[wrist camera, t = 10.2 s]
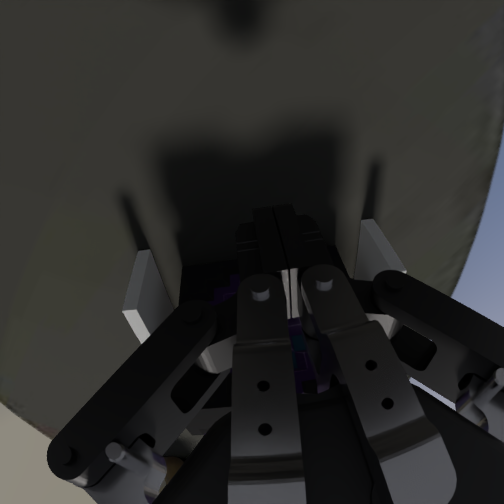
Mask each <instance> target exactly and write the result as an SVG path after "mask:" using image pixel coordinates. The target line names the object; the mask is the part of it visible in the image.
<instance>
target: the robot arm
mask: <svg viewBox="0 0 504 504" xmlns="http://www.w3.org/2000/svg"><path fill="white" fill-rule="evenodd" d="M252 211H253V219H254V222H251V223H245V224H240V226H239V228H238V230H237V232H236V243H237V254H238V265H239V276H240V285H239V287H238V290H237V291H236V293H235V294H234V295H233V296H232V297H230V298H229V299H227V300H226V301H224V302H221V303H219V304H216V305H214V306H212V305H211V304H210V303H208V302H207V301H204V300H190V301H187V302H184V303H182V304H181V305H179V306H178V307H177V308H176V309H175V310H174V311H173V312H172V313H171V314H170V315H169V316H168V317H167V318H166V319H165V320H164V321H163V322H162V323H161V324H160V325H159V327H158V328H157V329H156V330H155V331H154V332H153V333H152V334H151V335H150V336H149V337H148V338H147V339H146V340H145V341H144V342H143V343H142V344H141V345H140V347H139V348H138V349H137V350H136V351H135V352H134V353H133V354H132V355H131V356H130V357H129V358H128V359H127V360H126V361H125V362H124V363H123V365H122V366H121V367H120V368H119V369H118V370H117V371H116V372H115V373H114V374H113V375H112V376H111V377H110V378H109V379H108V380H107V382H106V383H105V384H104V385H103V386H102V387H101V388H100V389H99V390H98V391H97V392H96V393H95V394H94V395H93V397H92V398H91V399H90V400H89V401H88V402H87V403H86V404H85V405H84V406H83V407H82V408H81V410H80V411H79V412H78V413H77V414H76V415H75V416H74V417H73V418H72V419H71V420H70V421H69V423H68V424H67V425H66V426H65V427H64V428H63V429H62V430H61V431H60V432H59V433H58V435H57V436H56V437H55V438H54V439H53V440H52V441H51V443H50V445H49V447H48V451H47V462H48V465H49V468H50V469H51V471H52V472H53V473H54V474H55V475H56V476H57V477H59V478H61V479H63V480H66V481H68V482H70V483H73V484H74V485H76V486H78V487H81V488H83V489H84V490H85V491H86V492H87V493H88V494H89V495H90V496H91V497H92V498H93V499H94V500H95V501H96V503H97V504H504V327H502V326H500V325H499V324H497V323H495V322H493V321H492V320H490V319H488V318H487V317H485V316H483V315H481V314H479V313H478V312H476V311H474V310H472V309H471V308H469V307H467V306H465V305H463V304H461V303H459V302H458V301H456V300H454V299H452V298H451V297H449V296H447V295H445V294H443V293H441V292H439V291H438V290H436V289H434V288H432V287H430V286H428V285H426V284H424V283H422V282H421V281H419V280H417V279H415V278H413V277H411V276H409V275H407V274H405V273H403V272H401V271H398V270H384V271H381V272H379V273H378V274H377V275H376V276H375V277H374V279H373V281H365V280H355V279H351V278H348V277H346V276H345V274H344V273H343V272H342V271H341V270H340V269H339V268H337V267H335V266H334V263H333V261H332V259H331V256H330V254H329V251H328V249H327V247H326V244H325V242H324V240H323V237H322V235H321V233H320V231H319V228H318V226H317V224H316V221H314V220H313V219H312V218H311V217H309V216H308V215H300V216H296V214H295V211H294V209H293V206H292V204H284V205H277V206H272V208H271V207H264V208H257V209H252ZM290 310H291V315H292V318H295V317H300V321H301V325H302V331H301V332H302V338H303V341H304V344H305V347H306V350H307V353H308V356H309V359H310V362H311V365H312V369H313V372H314V375H315V378H316V382H317V388H318V394H303V393H296V386H295V377H294V367H293V358H292V349H291V341H290V338H289V330H288V319H290ZM404 324H405V325H406V326H405V325H404ZM407 326H408V327H407ZM409 327H410V328H412V329H413V330H412V329H410V328H409ZM414 330H415V331H414ZM416 331H417V332H418V333H417V332H416ZM419 333H420V334H419ZM421 334H422V335H424V336H425V337H424V336H422V335H421ZM426 337H427V338H426ZM428 338H429V339H430V340H429V339H428ZM431 340H432V341H431ZM231 368H232V406H231V411H230V412H229V413H227V414H226V415H224V416H222V417H221V418H220V419H219V420H218V421H216V422H215V423H214V424H213V425H212V426H211V427H210V428H209V430H208V431H207V432H206V434H205V435H204V436H203V438H202V439H201V440H200V442H199V443H198V445H197V446H196V447H195V449H194V450H193V451H192V453H191V454H190V455H189V457H188V458H187V459H186V460H185V462H184V463H183V464H182V466H181V467H180V468H179V470H178V471H177V472H176V474H175V475H174V476H173V477H172V479H171V480H170V481H169V482H168V484H167V485H166V486H165V488H164V489H163V490H162V491H161V493H160V494H159V489H160V486H161V484H162V482H163V480H164V479H165V476H166V473H167V466H166V462H165V460H164V458H163V454H164V453H165V452H166V451H167V450H168V449H169V447H170V446H171V445H172V444H173V443H174V441H175V440H176V439H177V438H178V437H179V435H180V434H181V433H182V432H183V431H184V429H185V428H186V427H187V426H188V424H189V423H190V422H191V421H192V419H193V418H194V417H195V416H196V415H197V413H198V412H199V411H200V410H201V408H202V407H203V406H204V405H205V403H206V402H207V401H208V400H209V398H210V397H211V396H212V394H213V393H214V392H215V391H216V389H217V388H218V387H219V386H220V384H221V383H222V382H223V380H224V379H225V378H226V377H227V375H228V374H229V372H230V371H231ZM406 374H407V375H409V376H410V377H412V378H414V379H415V380H417V381H419V382H420V383H422V384H423V385H425V386H427V387H428V388H430V389H432V390H433V391H435V392H437V393H438V394H440V395H441V396H443V397H445V398H446V399H448V400H450V401H451V402H453V403H455V407H456V411H455V410H453V409H452V408H450V407H449V406H447V405H445V404H444V403H443V402H441V401H439V400H438V399H437V398H435V397H433V396H432V395H430V394H429V393H427V392H426V391H424V390H423V389H421V388H420V387H418V386H416V385H413V384H411V383H410V381H409V379H408V377H407V375H406Z"/></svg>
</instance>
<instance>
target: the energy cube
mask: <svg viewBox="0 0 504 504" xmlns="http://www.w3.org/2000/svg"><path fill="white" fill-rule="evenodd" d="M327 249H328V251H329V254H330V256H331V259H332V261H333V263H334V266H335V267H337V268H339V269H340V270H341V271H342V272H343V273H344V274H345V276H346V277H348V278H350V277H349V275H348V273H347V271H346V269H345V266H344V264H343V262H342V260H341V257H340V255H339V253H338V251H337V249H336V247H335V245H334V246H327ZM239 285H240V276H239V265H238V259H236V260H229V261H222V262H215V263H207V264H200V265H193V266H186V267H183V268H182V277H181V286H180V296H179V305H181V304H182V303H184V302H187V301H190V300H204V301H207V302H208V303H210V304H211V305H212V306H214V305H216V304H219V303H221V302H224V301H226V300H227V299H229V298H230V297H232V296H233V295H234V294H235V293H236V291H237V290H238V287H239ZM288 330H289V338H290V341H291V349H292V358H293V367H294V377H295V386H296V393H303V394H318V388H317V382H316V378H315V375H314V372H313V369H312V365H311V362H310V359H309V356H308V353H307V350H306V347H305V344H304V341H303V338H302V332H301V331H302V325H301V321H300V317H295V318H292V315H291V310H290V319H288ZM231 406H232V368H231V371H230V372H229V374H228V375H227V377H226V378H225V379H224V380H223V382H222V383H221V384H220V386H219V387H218V388H217V389H216V391H215V392H214V393H213V394H212V396H211V397H210V398H209V400H208V401H207V402H206V403H205V405H204V406H203V407H202V408H201V410H200V411H199V412H198V413H197V415H196V416H195V417H194V418H193V419H192V421H191V422H190V423H189V424H188V426H187V427H186V429H187V430H188V431H189V432H190V433H191V434H192V435H205V434H206V432H207V431H208V430H209V428H210V427H211V426H212V425H213V424H214V423H215V422H216V421H218V420H219V419H220V418H221V417H222V416H224V415H226V414H227V413H229V412H230V411H231Z"/></svg>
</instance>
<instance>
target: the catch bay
mask: <svg viewBox="0 0 504 504" xmlns="http://www.w3.org/2000/svg"><path fill="white" fill-rule="evenodd" d="M384 270H398V271H401V272H403V273H405V274H406V271H407V270H406V269H405V267H404V265H403V264H402V262H401V261H400V259H399V257H398V256H397V254H396V253H395V251H394V250H393V248H392V247H391V245H390V243H389V242H388V240H387V239H386V237H385V236H384V234H383V233H382V231H381V230H380V228H379V227H378V225H377V224H376V222H375V221H374V219H366V220H361V227H360V236H359V244H358V252H357V260H356V267H355V274H354V279H355V280H365V281H373V279H374V277H375V276H376V275H377V274H378V273H379V272H381V271H384ZM122 311H123V313H124V315H125V317H126V319H127V320H128V322H129V324H130V325H131V327H132V329H133V331H134V332H135V334H136V336H137V337H138V339H139V341H140V342H141V344H142V343H143V342H144V341H145V340H146V339H147V338H148V337H149V336H150V335H151V334H152V333H153V332H154V331H155V330H156V329H157V328H158V327H159V325H160V324H161V323H162V322H163V321H164V320H165V319H166V318H167V317H168V316H169V315H170V314H171V313H172V312H173V311H174V309H173V306H172V304H171V301H170V299H169V296H168V294H167V291H166V289H165V286H164V284H163V281H162V279H161V276H160V274H159V271H158V268H157V266H156V263H155V261H154V258H153V255H152V253H151V250H150V249H148V250H142V251H138V253H137V257H136V260H135V264H134V267H133V271H132V274H131V278H130V282H129V286H128V289H127V293H126V297H125V301H124V305H123V309H122Z"/></svg>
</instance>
